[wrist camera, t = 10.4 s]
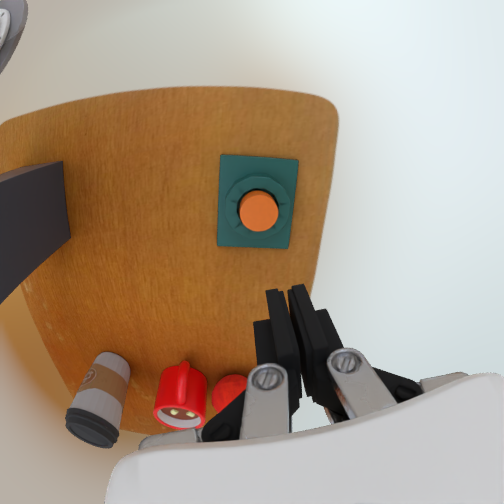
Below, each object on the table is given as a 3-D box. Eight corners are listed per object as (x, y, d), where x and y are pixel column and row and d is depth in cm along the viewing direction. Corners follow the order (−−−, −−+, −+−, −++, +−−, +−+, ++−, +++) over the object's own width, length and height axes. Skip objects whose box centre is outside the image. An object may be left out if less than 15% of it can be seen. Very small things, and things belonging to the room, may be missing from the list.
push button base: (220, 154, 27) (219, 156, 25) (297, 159, 28) (302, 162, 25) (217, 243, 31) (216, 253, 29) (287, 246, 32) (291, 256, 30)
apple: (270, 377, 42) (276, 414, 35) (238, 398, 44) (239, 432, 37) (233, 357, 39) (234, 396, 32) (202, 380, 41) (199, 417, 35)
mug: (211, 351, 38) (208, 394, 31) (206, 396, 43) (203, 433, 36) (158, 344, 37) (147, 384, 30) (162, 390, 42) (155, 426, 35)
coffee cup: (110, 339, 37) (77, 417, 23) (146, 371, 40) (127, 448, 26) (84, 355, 38) (53, 422, 25) (117, 383, 42) (97, 451, 28)
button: (240, 189, 27) (241, 194, 25) (276, 191, 27) (280, 196, 25) (238, 223, 28) (238, 230, 26) (273, 225, 28) (276, 232, 27)
